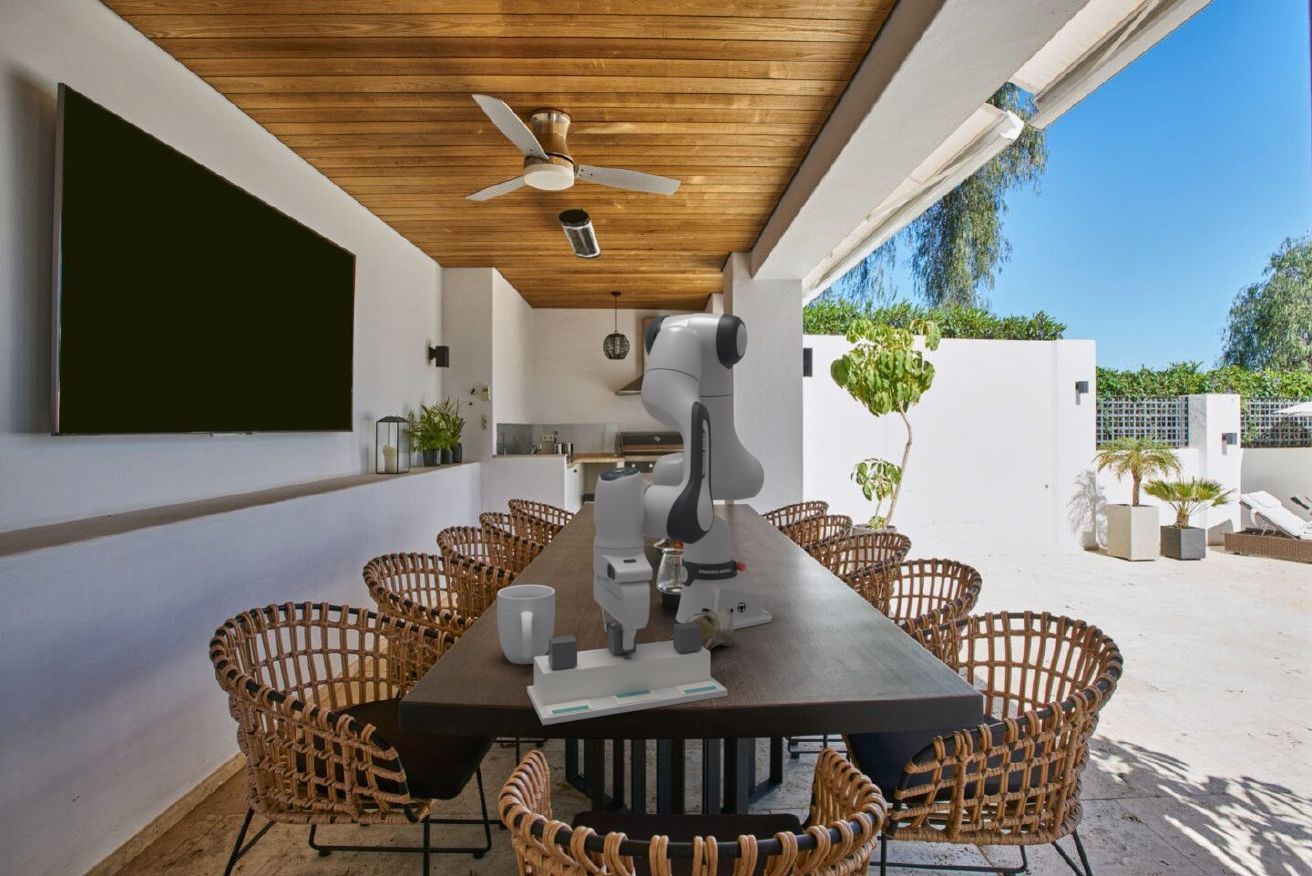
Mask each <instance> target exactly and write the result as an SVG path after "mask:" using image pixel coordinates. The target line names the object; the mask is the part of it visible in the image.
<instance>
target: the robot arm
mask: <svg viewBox="0 0 1312 876" xmlns="http://www.w3.org/2000/svg"><path fill="white" fill-rule="evenodd" d="M747 346H748V332H747V328H746V324H745V322H744V321H743V320H742V318H741V317H740V316H737V315H734V314H729V313H723V314H718V313H716V314H715V313H707V312H706V313H704V312H700V313H699V312H695V313H689V314H688V313H687V314H677V315H668V314H667V315H662V316H658V317H656V318H653V319H652V320H651V321H650V323H649V324H647V327H646V329H645V334H644V347H645V352H646V353H647V355H648V358H647V361H646V366H645V369H644V375H643V379H642V384H641V389H640V390H641V391H640V397H641V403H642V406H643V408H644V409H645V411H646V413H647V414H648V415H649V416H650V417H652V418H653V419H654V420H656V421H657V422H658V423H660V424H662V425H664V426H666V427H668V428H670V429H673V430H675V431H677V432H678V433H679V434H680V435H681V438H682V441H683V452H675V453H670V454H669V453H668V454H665V455H664V454H663V455H661V456H660V457H659V458H658V459H657V461H656V462H655V464H654V466H653V469H652V474H651V475H652V476H651V477H652V482H649V481H646V479H644V478H643V477H642V473H641V471H640V469H639V468H635V467H629V466H627V467H626V466H624V467H616V468H615V467H614V468H610V469H606V470H604V471H603V472H601V473H599V475H598V478H597V481H596V485H595V491H594V500H593V501H594V502H593V522H594V526H595V536H594V539H593V572H594V573H593V591H592V593H593V598H594V601H595V602H596V603H597V604H598V605H599V606H600V607H601V613H602V618H603V619H602V620H603V624H604V625H603V626H604V627H603V630H604V631H605V632H606V633H607V634H608V629H609V626H615V625H617V622H618V623H619V625H622V630H623V637H621V647H622V648H623V649H624V650H631V649H633V647H634V637H635V634H636V635H637V631H638V630H640V629H644V628H646V627H647V625H648V622H649V618H650V605H651V603H650V602H651V587H650V583H649V581H652V580H653V574H654V572H653V568H652V565H651V564H650V562H649V561H648V559H647V557H646V553H645V540H644V536H646V537H650V538H657V539H667V540H672V541H674V542H678V543H683V544H682V545H683V547H682V550H683V557H682V559H681V567H680V577H681V579H680V580H681V583H682V585H681V592H680V593H681V594H680V598H679V599H680V600H679V605H678V607H677V608H678V609H677V613H676V616H675V620H676V622H678V624H681V623H685V622H686V620H687V619H688V618H689V617H691V616H693V615H696V614H700V613H701V611H702V609H703V608H707V609H710V610H712V611H714V612H715V613H717V612H719V611H722V610H725V609H727V608H729V609H730V611H731V615H732V623H733V629H734V630H737V629H738V630H739V629H743V628H748V627H753V626H758V625H762V624H763V625H764V624H767V623H772V622H773V615H772V614H771V613H770V612H769V611H768V610H766V609H764V608H763V602H762V597H761V595H760V593H759V591H758V590H757V589H756V588H755V587H753V586H752V585H751V584H749V583H748V582H747V581H746V580H744V579H743V578H742V577H741V576H740V575H738V574H739V573H738V571H739V572H742V573H743V572H745V571H746V569H747V565H746V564H745V562H742V561H735V560H733V559H732V530H731V527H730V525H729V523H728V522H727V521H726V520H725V519H724V518H722V517H720V516H718V515H716V514H715V511H714V510H715V509H714V508H715V507H714V501H741V500H746V499H747V500H748V499H752V498H755V497H756V496H757V495H758V494H759V493H760V492H761V490H762V488H763V486H764V484H765V483H764V482H765V471H764V468H763V466H762V464H761V462H760V461H759V460H758V458H757V457H755V456H754V455H753V454H751V452H749V451H748V450H747V449H746V448H745V446H744V445H743V444H742V442H741V440H740V439H739V437H738V435H737V432H736V428H735V421H734V406H733V403H734V401H733V400H734V399H733V397H734V395H733V392H734V390H733V388H734V387H733V385H734V384H733V375H732V374H733V372H732V368H733V367H734V365H737V364H738V363H739V362H740V361H741V360H742V359H743V357H744V355H745V354H746V350H747ZM616 621H617V622H616Z"/></svg>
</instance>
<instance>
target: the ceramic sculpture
mask: <svg viewBox="0 0 1312 876" xmlns="http://www.w3.org/2000/svg"><path fill="white" fill-rule="evenodd" d="M690 622H695V623H697V624H698V625H700V626H701V627H702V646H703V647H704V648H706V649H707V650H708V651H710V652H711V650H712V649H713V648H715V647H716V646H723V647H727V646H730V645H731V644H732V642H733V640H734V635H735V634H734V631H735V629H733V623H732V615H731V611H730V609H729V608H727V609H725V610H722V611H719V612H717V613H715V612H714V611H712V610H710V609H707V608H703V609H702V611H701V613H700V614H696V615H693V616H691V617H689V618H688V619H687V620H686V622H685V623H690ZM671 640H674V632H673V633H672V634H671V635H670V636H669V637H667V638H663V639H661V640H660V642H662V641H671Z"/></svg>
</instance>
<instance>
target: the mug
mask: <svg viewBox="0 0 1312 876" xmlns="http://www.w3.org/2000/svg"><path fill="white" fill-rule="evenodd" d="M496 599H497V601H496V621H497V622H496V623H497V631H498V638H499V642H500V646H501V649H502V651H503V653H504V656H505V657H506V658H507V661H509V662H510V663H512V664H516V665H530V664H534V657H538V656H546V655H547V653H548V649H549V638H553V636H554V631H555V630H554V629H555V620H556V590H555V589H554V588H553V587H550V586H548V585H544V584H543V585H541V584H519V585H517V584H516V585H511V586H507V587H504V588H501V589H499V590H498V591H497V595H496Z"/></svg>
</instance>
